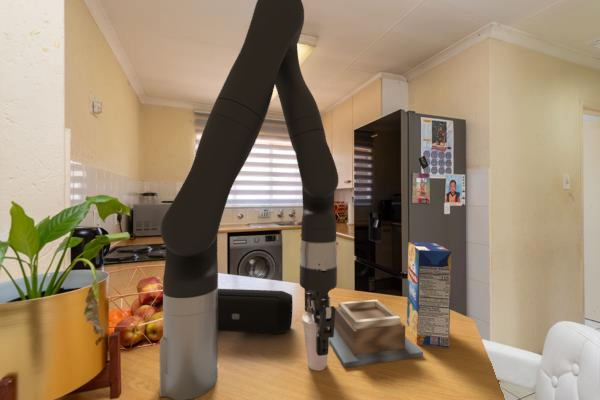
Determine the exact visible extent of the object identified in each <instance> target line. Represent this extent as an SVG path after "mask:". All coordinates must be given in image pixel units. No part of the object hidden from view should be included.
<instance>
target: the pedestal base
mask: <svg viewBox="0 0 600 400" xmlns="http://www.w3.org/2000/svg"><path fill="white" fill-rule="evenodd" d="M334 307H335V323H334V337H332V338H330V341H329V346H330V347H331V348H332V350H333V351H334V353H335V355H336V356H337V358H338V360H339V362H340V363H341V365H342V368H352V367H359V366H367V365H373V364H381V363H386V362H392V361H393V362H394V361H401V360H408V359H409V360H410V359H416V358H417V359H418V358H423V357H424V352H423V351H422V350H421V349H420V348H419V347H418V346H417V344H415V343H413V342H412V341H411V340H410V339H408V337H407V336H406V325H405V324H404V323H403V322H401V317H400V316H398V315H397V314H396V313H395V312H394V311H392V310H391V309H390V308H388V307H387V306H386V305H384V304H383V303H382V302H381V301H380V300H378V299H377V298H376V299H366V300H365V299H364V300H356V301H355V300H353V301H342V302H341V301H340V302H338V306H337V307H336V306H334Z"/></svg>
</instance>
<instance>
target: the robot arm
mask: <svg viewBox="0 0 600 400" xmlns="http://www.w3.org/2000/svg"><path fill="white" fill-rule="evenodd" d="M304 23H305V8H304V5H303V1H302V0H257V1H256V3H255V5H254V10H253V13H252V18H251V20H250V23H249V26H248V30H247V32H246V36H245V39H244V41H243V44H242V47H241V49H240V51H239V53H238V55H237V57H236V59H235V61H234V62H233V65H232V67H231V68H230V71H229V73H228V74H227V76H226V79H225V81H224V83H223V84H222V87H221V89H220V92H219V94H218V95H217V97H216V99H215V102H214V103H213V106H212V109H211V111H210V113H209V115H208V118H207V120H206V124H205V126H204V128H203V131H202V134H201V137H200V139H199V142H198V145H197V149H196V152H195V157H194V159H193V163H192V165H191V167H190V170H189V172H188V174H187V176H186V178H185V180H184V181H183V183H182V186H181V187H180V188H179V191H178V192H177V194H176V196H175V198H174V199H173V201H172V203H171V204H170V206H169V207H168V209H167V210H166V212H165V214H164V216H163V217H162V219H161V223H160V237H161V240H162V243H163V244H164V246H165V262H164V270H163V271H164V272H163V277H162V290H163V291H162V293H163V294H162V308H163V309H162V313H163V314H162V317H163V318H162V320H163V321H162V323H163V326H162V327H163V328H162V332H163V333H162V337H161V338H160V340H159V397H161V398H163V397H168V398H170V399H172V400H191V399H194V398H197V397H199V396H202V395H203V394H205V393H208V391H210V390H211V389H212V388H213V386H214V385H215V384H216V382H217V381H218V374H219V373H218V372H219V370H218V369H219V361H218V360H219V359H218V357H219V351H218V350H219V343H218V342H219V333H218V332H219V330H218V289H219V265H218V264H219V263H218V261H219V260H218V234H219V231H220V226H221V222H222V218H223V215H224V211H225V207H226V205H227V201H228V199H229V195H230V193H231V192H232V191H231V190H232V187H233V185H234V183H235V181H236V179H237V178H238V175H239V174H240V172H241V170H242V169H243V167H244V165H245V163H246V162H247V160H248V158H249V156H250V154H251V152H252V150H253V148H254V145H255V143H256V141H257V139H258V136H259V135H260V132H261V129H262V127H263V125H264V123H265V120H266V116H267V114H268V111H269V107H270V105H271V101H272V97H273V94H274V88H275V89H276V91H277V95H278V96H277V97H278V99H279V102H280V106H281V110H282V113H283V117H284V122H285V126H286V130H287V133H288V136H289V141H290V143H291V146H292V149H293V151H294V153H295V157H296V163H297V166H298V171H299V176H300V181H301V190H302V191H301V193H302V194H301V195H302V216H301V227H300V228H301V230H300V231H301V233H300V239H301V241H300V247H299V248H300V249H299V285H300V287H302V289H304V311H305V313H307V312H309V313H311V312H312V319H313V323H315V324H316V352H317V355H318V356H322V355H327V354H329V348H328V343H329V338H332V337H334V323H335V307H336V306H334V305H333V306H331V304H332V303H331V297H330V296H329V293H330V291H332V290H334V289H335V288H336V287H337V285H338V248H337V247H338V246H337V217H336V214H335V192H336V190H337V188H338V185H339V181H340V180H339V173H338V169H337V165H336V162H335V160H334V157H333V155H332V152H331V149H330V147H329V144H328V142H327V137H326V131H325V128H324V123H323V120H322V116H321V114H320V110H319V106H318V104H317V101H316V99H315V97H314V95H313V94H312V92H311V90H310V89H309V87H308V85H307V83H306V81H305V80H304V77H303V74H302V70H301V67H300V60H299V53H298V43H299V41H300V38H301V34H302V30H303V27H304ZM316 316H320V318H317V317H316ZM319 324H320V325H319ZM325 327H326V329H324V328H325ZM329 344H330V343H329ZM327 356H328V355H327Z"/></svg>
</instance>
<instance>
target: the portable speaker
mask: <svg viewBox="0 0 600 400" xmlns="http://www.w3.org/2000/svg"><path fill="white" fill-rule="evenodd" d="M292 320H293V295H292V294H291V293H288V292H285V291H283V290H270V289H269V290H267V289H266V290H265V289H264V290H263V289H245V288H244V289H238V288H235V289H234V288H218V331H221V332H222V331H225V332H244V333H247V332H248V333H249V332H250V333H272V334H274V333H275V334H281V333H284V332H287V331H290V330H291V327H292V322H293V321H292Z"/></svg>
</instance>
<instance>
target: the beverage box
mask: <svg viewBox="0 0 600 400" xmlns="http://www.w3.org/2000/svg"><path fill="white" fill-rule="evenodd" d="M407 251H408V252H407V254H408V255H407V256H408V257H407V302H406V303H407V304H406V305H407V306H406V312H407V313H406V323H407V326H408V328H409V330H410V333H411V334H412V337H413V339H414V341H415V343H416V346H417V345H419V346H428V347H438V348H447V349H448V348H450V319H451V317H450V316H451V283H452V282H451V281H452V279H451V275H452V273H451V272H452V271H451V270H452V251H451V250H449V249H447V248H446V247H444V246H442V245H440V244H438V243H437V242H420V241H419V242H418V241H416V242H415V241H408V250H407Z"/></svg>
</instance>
